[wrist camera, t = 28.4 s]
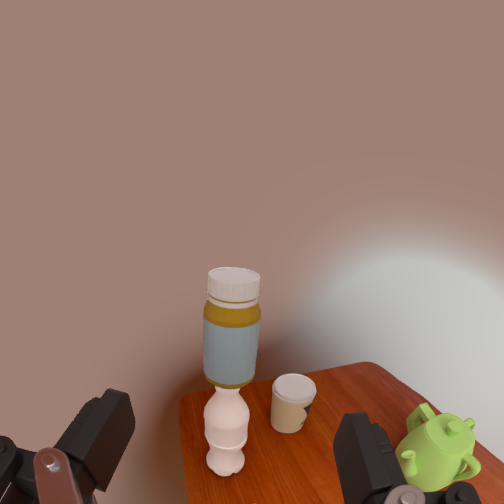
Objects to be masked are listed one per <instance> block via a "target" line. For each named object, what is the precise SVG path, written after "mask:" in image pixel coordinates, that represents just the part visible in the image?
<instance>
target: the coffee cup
mask: <svg viewBox="0 0 504 504" xmlns="http://www.w3.org/2000/svg"><path fill="white" fill-rule="evenodd" d="M272 390H273V392H272V405H271V425H272V427H273V428H274V429H275V430H277V431H279V432H282V433H294V432H297V431H298V430H300V429H301V428H302V426H303V424H304V421H305V419H306V417H307V414H308V412H309V409H310V406H311V404H312V401H313V398H314V396H315V394H316V387H315V384H314V382H313V381H312V380H311V379H310V378H308V377H306V376H304V375H300V374H285V375H282V376H280V377H278V378H277V379H276V380H275V381H274V383H273V386H272Z"/></svg>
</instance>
